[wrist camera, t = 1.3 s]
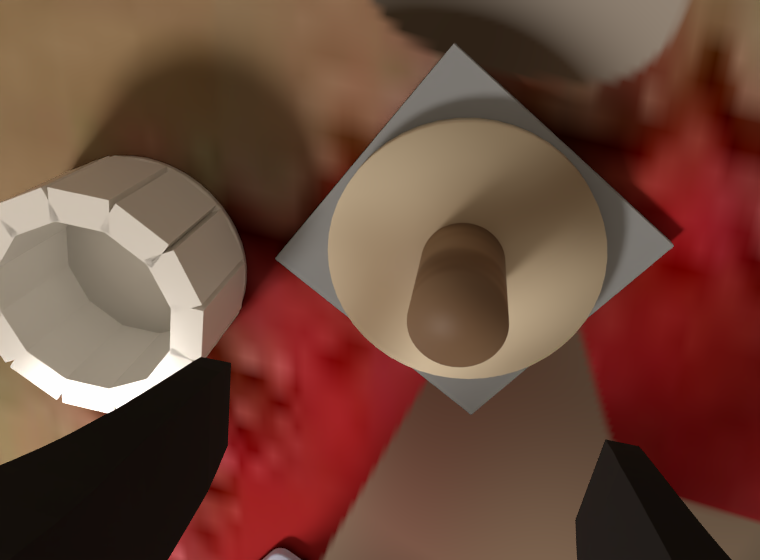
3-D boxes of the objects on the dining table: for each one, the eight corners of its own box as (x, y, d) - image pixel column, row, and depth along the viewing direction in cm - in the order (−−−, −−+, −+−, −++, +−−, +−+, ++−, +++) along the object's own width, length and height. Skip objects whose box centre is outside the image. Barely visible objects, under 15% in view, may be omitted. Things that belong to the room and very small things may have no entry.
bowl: (288, 253, 22) (249, 307, 19) (179, 382, 25) (128, 450, 22) (106, 108, 21) (27, 135, 17) (15, 262, 24) (-68, 313, 20)
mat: (670, 241, 20) (674, 245, 20) (471, 408, 24) (470, 414, 23) (454, 42, 18) (454, 43, 18) (278, 254, 22) (274, 258, 22)
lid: (664, 246, 20) (713, 321, 15) (470, 408, 23) (467, 506, 19) (454, 54, 18) (444, 76, 14) (282, 258, 22) (232, 326, 17)
